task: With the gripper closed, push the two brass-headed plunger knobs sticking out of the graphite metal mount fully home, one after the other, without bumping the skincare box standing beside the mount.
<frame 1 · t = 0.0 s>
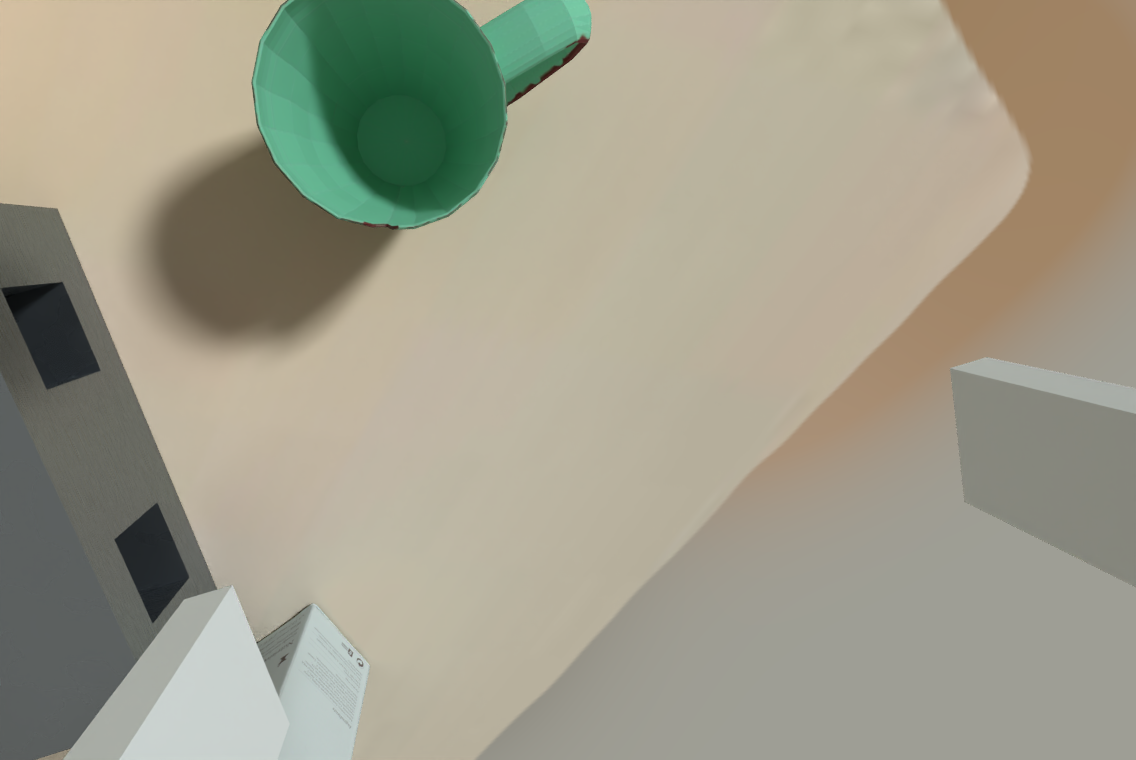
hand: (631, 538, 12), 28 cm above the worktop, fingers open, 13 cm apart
mug: (441, 121, 36), on the worktop
skincare box: (290, 670, 41), on the worktop
mount: (54, 452, 36), on the worktop
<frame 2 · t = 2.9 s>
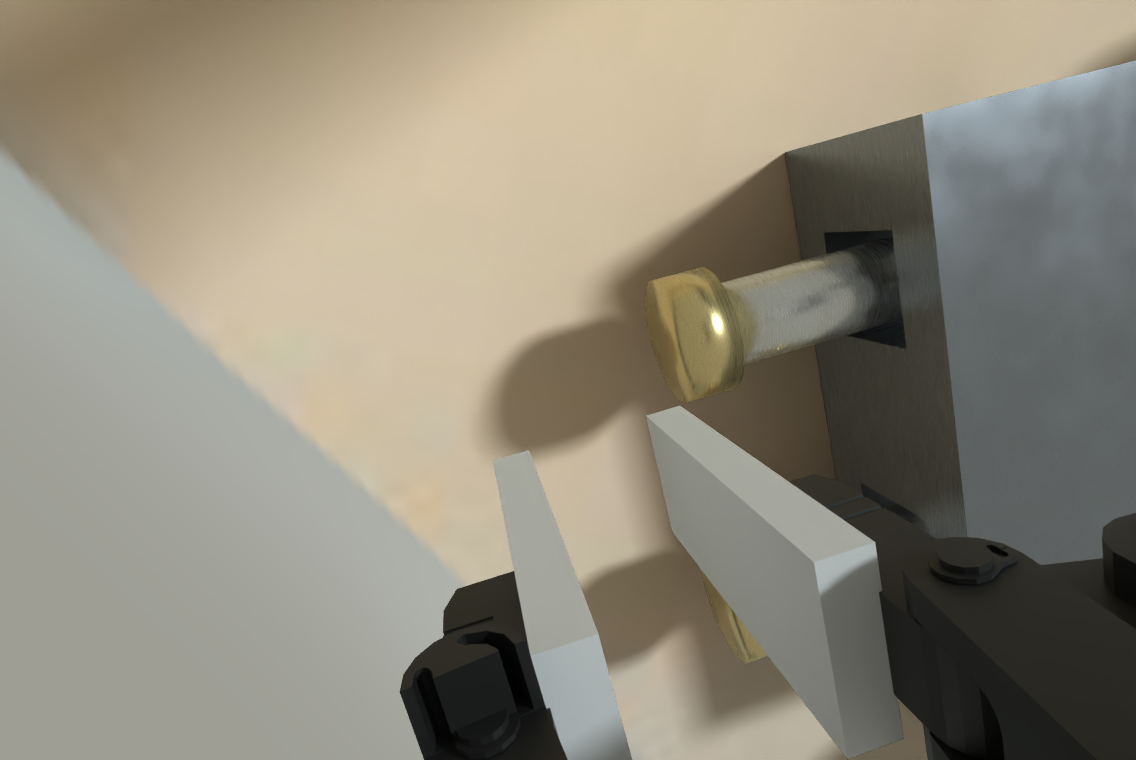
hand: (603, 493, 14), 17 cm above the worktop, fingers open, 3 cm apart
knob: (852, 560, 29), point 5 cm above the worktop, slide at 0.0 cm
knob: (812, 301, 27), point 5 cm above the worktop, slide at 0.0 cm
mount: (913, 372, 33), on the worktop
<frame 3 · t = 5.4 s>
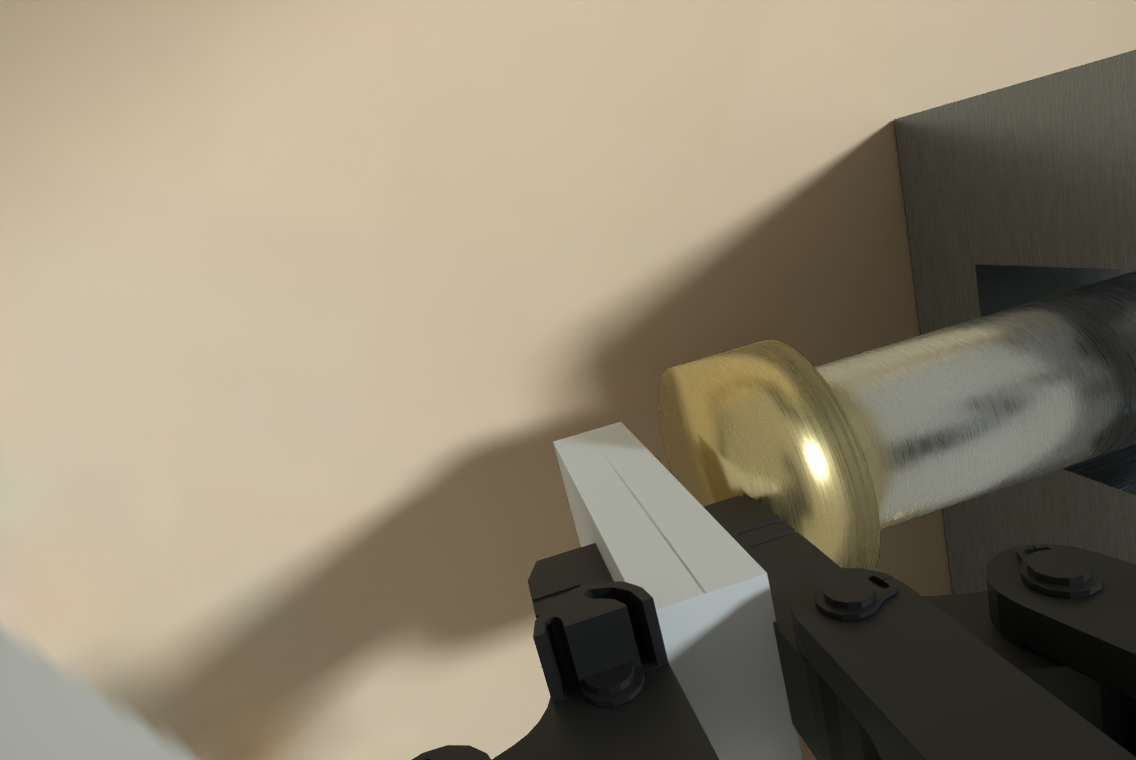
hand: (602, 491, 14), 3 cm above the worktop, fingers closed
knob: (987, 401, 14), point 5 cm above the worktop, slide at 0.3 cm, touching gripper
mount: (1090, 487, 20), on the worktop
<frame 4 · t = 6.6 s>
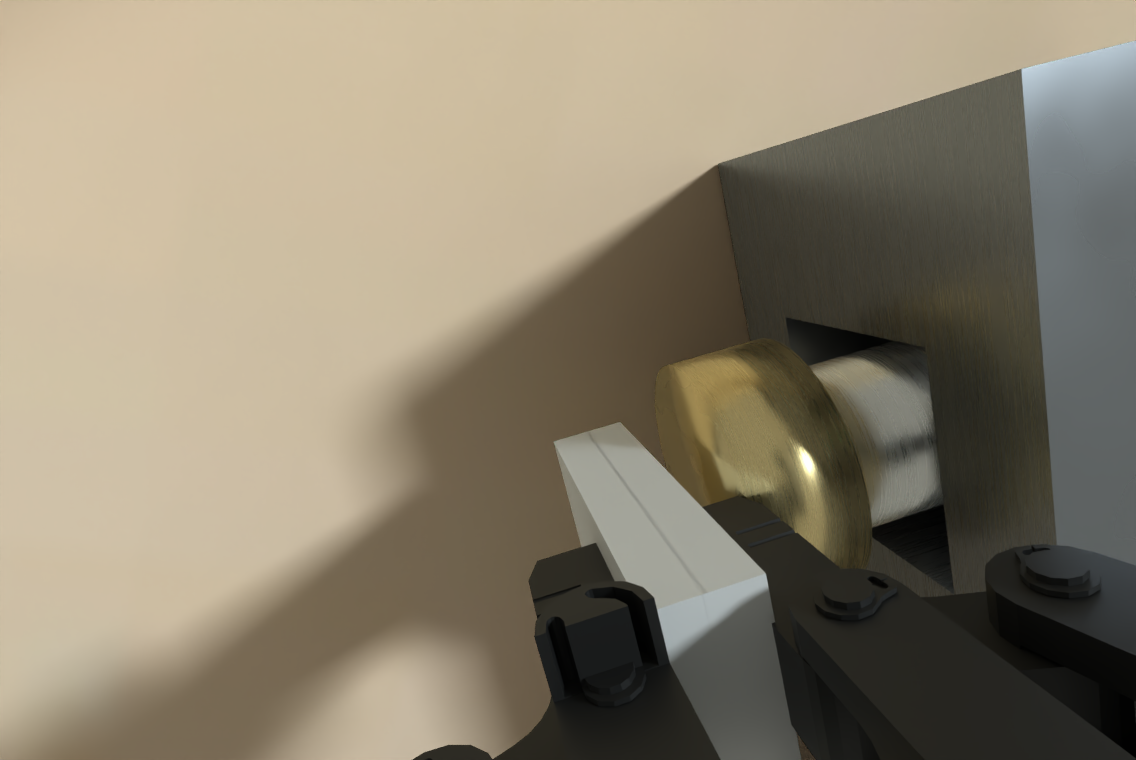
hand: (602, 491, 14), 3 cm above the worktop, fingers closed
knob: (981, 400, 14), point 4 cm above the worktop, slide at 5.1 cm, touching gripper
mount: (948, 533, 20), on the worktop
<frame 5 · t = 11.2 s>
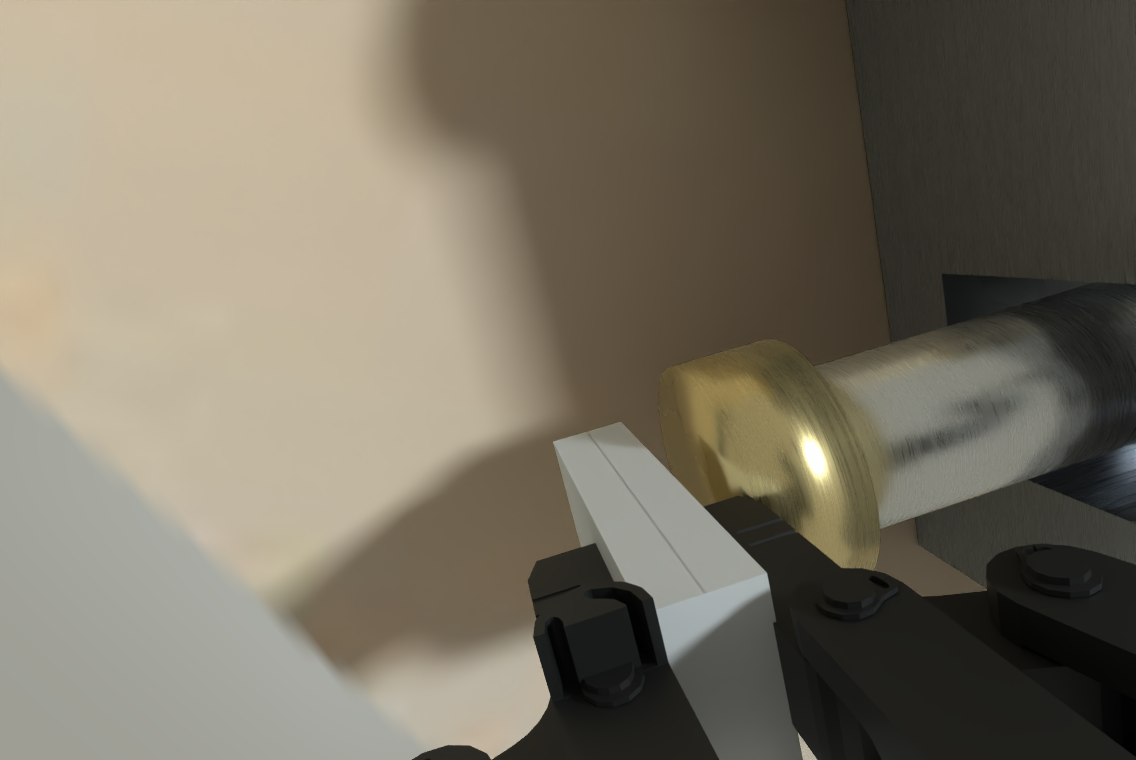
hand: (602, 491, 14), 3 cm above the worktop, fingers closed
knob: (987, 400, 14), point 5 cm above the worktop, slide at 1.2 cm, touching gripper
mount: (1035, 82, 17), on the worktop
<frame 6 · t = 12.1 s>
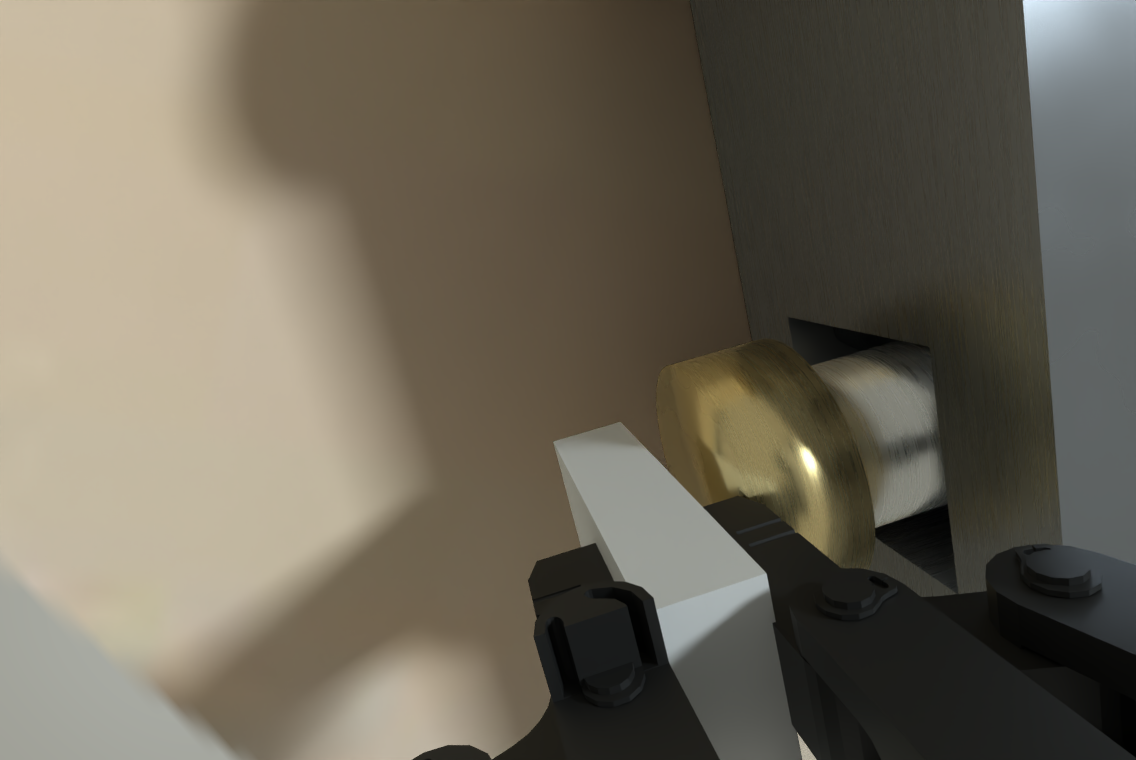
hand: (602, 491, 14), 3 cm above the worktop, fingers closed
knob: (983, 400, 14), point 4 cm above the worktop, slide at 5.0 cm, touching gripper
mount: (901, 117, 17), on the worktop
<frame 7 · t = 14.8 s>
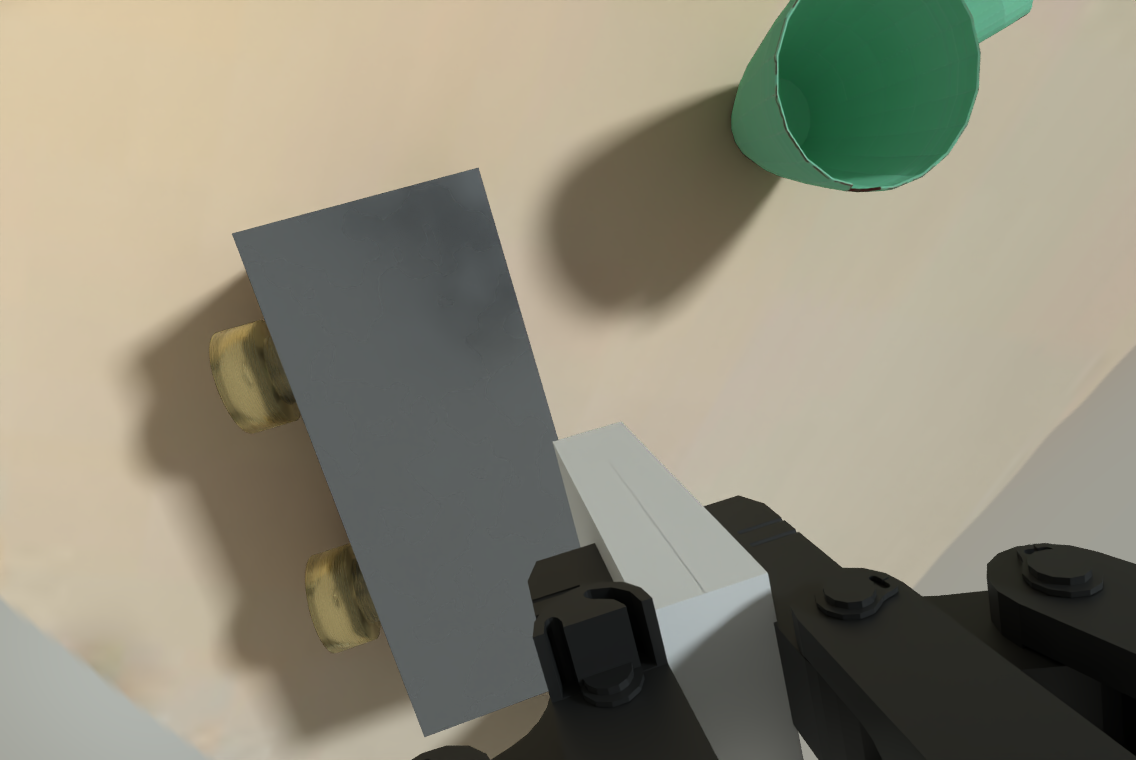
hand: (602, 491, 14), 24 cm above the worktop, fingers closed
mug: (803, 101, 38), on the worktop
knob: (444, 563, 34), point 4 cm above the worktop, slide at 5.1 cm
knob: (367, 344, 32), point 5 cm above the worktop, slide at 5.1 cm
mount: (449, 423, 38), on the worktop
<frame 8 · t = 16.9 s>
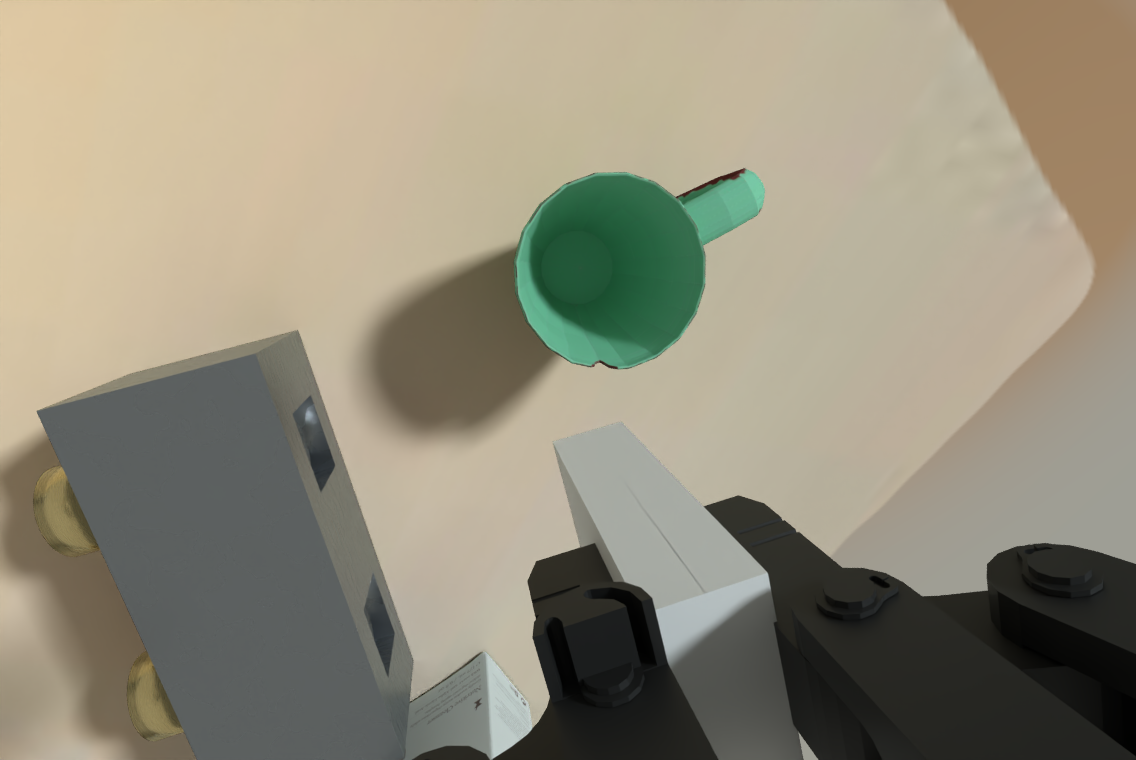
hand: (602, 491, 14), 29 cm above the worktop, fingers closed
mug: (607, 249, 43), on the worktop
skincare box: (461, 708, 47), on the worktop
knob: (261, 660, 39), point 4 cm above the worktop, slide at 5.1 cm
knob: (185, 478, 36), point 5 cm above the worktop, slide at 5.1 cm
mount: (282, 528, 42), on the worktop
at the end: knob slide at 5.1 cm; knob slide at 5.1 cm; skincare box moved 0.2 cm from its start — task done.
